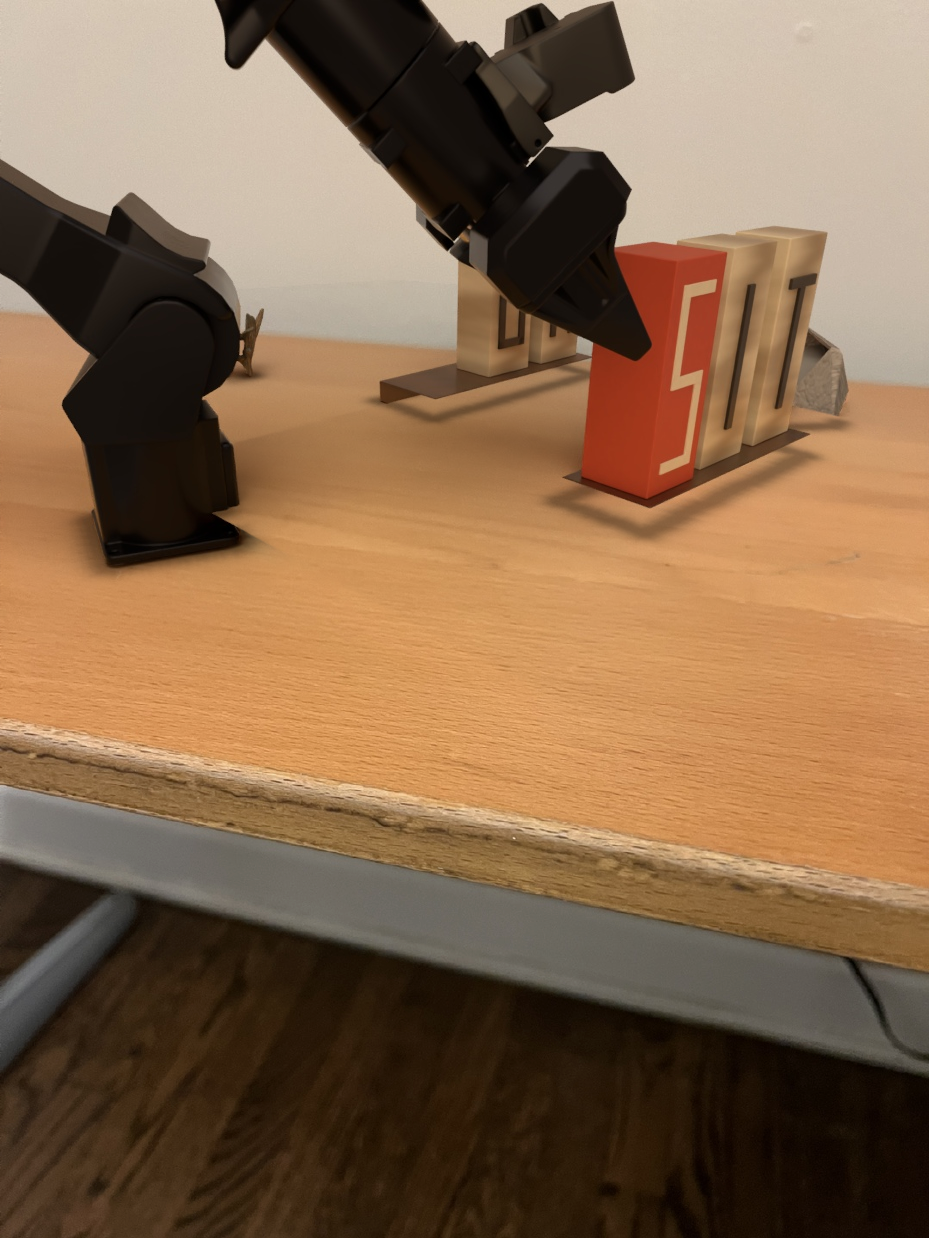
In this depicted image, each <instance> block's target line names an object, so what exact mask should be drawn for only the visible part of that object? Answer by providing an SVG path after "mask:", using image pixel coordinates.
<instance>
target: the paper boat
mask: <svg viewBox="0 0 929 1238" xmlns="http://www.w3.org/2000/svg"><path fill="white" fill-rule="evenodd" d="M848 393H849V384H848V377H847V372H846V366H845V361H844V355H843V353H842V351H841V349H840V347H838V346H837V345H835V344H834V343H833V342H831V341H829V340H828V339H826V338H825V337H823V336H822V335H821V334H819V333H818V332H816V331H815V330H814V329H812V328H811V327H810V326H809V327H808V332H807V337H806V342H805V347H804V351H803V356H802V361H801V366H800V371H799V376H798V381H797V386H796V391H795V395H794V400H793V405H792V407H798V408H801V409H805V410H809V411H814V412H817V413H822V414H826V415H830V416H834V417H839V416H840V413H841V410H842V408H843V406H844V403H845V400H846V398H847V396H848Z"/></svg>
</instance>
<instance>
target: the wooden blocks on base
mask: <svg viewBox="0 0 929 1238" xmlns="http://www.w3.org/2000/svg"><path fill="white" fill-rule="evenodd" d="M456 307H457V309H456V310H457V312H456V313H457V315H456V317H457V318H456V362H454V363H450V364H445V365H442V366H437V367H433V368H428V369H425V370H421V371H415V372H412V373H411V372H410V373H408V374H404V375H403V374H402V375H400V376H395V377H391V378H387V379H382V380H379V401H380V402H383V403H386V404H391V403H395V402H399V401H403V400H406V399H410V398H414V397H418V396H423V397H427V398H429V399H433V400H438V399H442V398H446V397H450V396H453V395H458V394H460V393H465V392H469V391H472V390H477V389H480V388H483V387H487V386H491V385H495V384H499V383H503V382H505V381H510V380H514V379H517V378H521V377H525V376H529V375H532V374H536V373H540V372H543V371H544V372H545V371H548V370H551V369H556V368H559V367H563V366H567V365H570V364H573V363H578V362H581V361H585V360H588V359H592V355H588V354H584V353H581V352H577V348H578V347H577V345H578V336H577V335H575V334H573V333H571V332H568V331H566V330H564V329H562V328H559V327H557V326H555V325H552V324H550V323H548V322H546V321H543V320H541V319H539V318H536V317H534V316H532V315H530V314H525V313H523V312H521V311H520V310H518V309H516V308H515V307H514V306H513V305H512V304H510V303H509V302H508V301H507V300H505V299H504V298H503V297H502V296H501V295H500V294H499V293H498V292H497V291H496V290H495V289H494V288H493V287H492V286H491V285H490V284H489V283H488V282H487V281H486V280H485V279H484V278H483V276H482V275H481V274H480V273H479V272H478V271H477V270H475V269H473V268H471V267H469V266H467V265H465V264H463V263H461V262H460V261H458V260H457V306H456Z"/></svg>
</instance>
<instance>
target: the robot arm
mask: <svg viewBox="0 0 929 1238" xmlns="http://www.w3.org/2000/svg"><path fill="white" fill-rule="evenodd" d="M214 4H215V6H216V8H217V10H218V14H219V16H220V19H221V22H222V23H221V24H222V28H223V37H224V53H223V54H224V55H223V57H224V61H225V64H226V65H227V66H228V67H229V69H231V70H233V71H240V70H242V69H243V68H244V67H245V65H246V64H247V63H248V61H249V60H250V59H251V58H252V57H253V55H254V54H255V53H256V52H257V51H258V49H259V48H260V47H261V46H262V44H263V43H264V42H265V41H266V42H267V43H268V44H269V45H270V46H271V47H272V48H273V50H275V52H276V53H277V54H278V55H279V57H281V58H282V59H283V60H284V62H285V63H286V64H287V65H288V66H289V67H290V68H291V69H292V70H293V72H295V74H296V75H297V76H298V77H299V78H300V79H301V80H302V81H303V82H304V83H305V84H306V85H307V87H308V88H309V89H310V90H311V91H312V92H313V93H314V94H315V96H317V98H318V99H320V101H321V102H322V103H323V104H324V105H325V106H326V107H327V109H329V111H330V112H331V113H332V114H333V115H334V116H335V117H336V119H337V120H338V121H340V123H341V124H342V125H343V126H344V127H345V128H346V129H347V130H348V131H349V133H351V135H352V136H353V137H354V138H355V139H356V140H357V142H359V143H358V145H359V147H360V148H361V149H362V150H363V151H364V152H365V153H366V154H367V155H368V156H369V158H370V159H371V160H372V161H373V162H374V163H376V164H378V165H380V166H381V167H382V168H383V170H384V171H385V172H386V173H387V174H388V175H389V176H390V177H391V178H392V180H394V182H395V183H396V184H397V185H398V186H399V187H400V188H401V189H402V190H403V191H404V193H405V194H406V195H407V196H408V197H409V198H410V200H412V201H413V202H414V203H415V221H416V222H417V223H418V225H420V226H421V227H422V229H423V230H424V231H425V232H426V233H427V234H428V235H429V236H430V237H431V239H433V241H435V243H436V244H437V245H438V246H439V247H441V248H442V249H443V250H444V251H446V252H447V253H449V254H450V256H452V257H453V258H455V259H456V260H457V262H458V261H460V262H461V263H463V264H465V265H467V266H469V267H471V268H473V269H475V270H477V271H478V272H479V273H480V274H481V275H482V276H483V278H484V279H485V280H486V281H487V282H488V283H489V284H490V285H491V286H492V287H493V288H494V289H495V290H496V291H497V292H498V293H499V294H500V295H501V296H502V297H503V298H504V299H505V300H507V301H508V302H509V303H510V304H512V305H513V306H514V307H515V308H516V309H518V310H520V311H521V312H523V313H525V314H530V315H532V316H534V317H536V318H539V319H541V320H543V321H546V322H548V323H550V324H552V325H555V326H557V327H559V328H562V329H564V330H566V331H568V332H571V333H573V334H575V335H577V337H579V338H583V339H585V340H586V341H589V342H591V343H592V344H593V343H595V344H597V345H600V346H602V347H604V348H606V349H608V350H611V351H613V352H615V353H617V354H619V355H622V356H624V357H626V358H628V359H630V360H632V361H638V360H640V359H641V358H642V357H643V356H644V355H645V354H646V353H647V352H648V351H649V350H650V349H651V347H652V342H651V340H650V337H649V335H648V333H647V330H646V328H645V326H644V323H643V321H642V319H641V316H640V314H639V312H638V309H637V307H636V305H635V302H634V300H633V298H632V296H631V293H630V291H629V289H628V286H627V284H626V282H625V279H624V277H623V274H622V272H621V269H620V267H619V264H618V261H617V259H616V256H615V247H616V241H617V237H618V231H619V226H620V224H621V223H622V222H623V221H624V219H625V218H626V215H627V211H628V199H629V198H630V195H631V193H632V191H633V189H632V188H631V186H630V185H629V183H628V182H627V180H625V178H624V177H623V176H622V174H621V173H620V172H619V170H618V168H617V167H616V166H615V165H614V164H613V162H612V161H611V159H610V158H609V157H608V156H607V154H606V153H605V152H604V151H602V150H596V149H592V148H591V149H590V148H587V147H586V148H585V147H579V146H547V145H548V144H549V142H550V141H551V140H552V139H553V138H554V137H555V136H554V133H552V131H551V130H550V128H549V127H548V126H547V124H545V123H549V122H551V121H553V120H555V119H557V118H559V117H561V116H563V115H565V114H567V113H568V112H570V111H573V110H574V109H576V108H579V107H580V106H582V105H585V104H586V103H588V102H590V101H591V100H594V99H595V98H598V97H600V96H601V95H604V94H605V93H608V94H609V95H610V94H611V95H613V94H616V93H619V91H621V90H624V89H626V88H627V87H629V86H630V85H632V84H633V83H634V82H635V80H636V76H635V72H634V69H633V66H632V62H631V57H630V55H629V54H630V53H629V51H628V48H627V47H628V46H627V43H626V40H625V37H624V33H623V29H622V26H621V22H620V19H619V15H618V12H617V8H616V5H615V2H614V0H610V1H606V2H602V3H601V2H600V3H596V4H593V5H588V6H586V7H584V8H581V9H578V10H577V11H573V12H569V13H568V14H566V15H564V17H563V18H561V19H559V18H558V17H557V16H556V15H555V14H554V13H553V12H552V11H551V9H550V8H549V7H548V6H547V5H546V4H545V3H542V2H539V3H536V4H533V5H530V6H528V7H526V8H524V9H522V10H520V11H518V12H517V13H515V14H512V15H510V16H509V17H507V18H506V19H505V24H504V40H503V41H504V43H503V48H502V49H499V50H498V51H495V52H494V54H493V55H492V56H489V55H488V53H487V52H486V51H485V50H484V48H483V47H482V46H481V44H479V43H478V42H477V41H475V40H472V41H469V42H468V40H467V39H465V40H464V39H463V40H460V41H455V39H454V38H453V37H452V35H451V34H450V33H449V32H448V31H447V29H446V28H445V26H444V25H443V24H442V23H441V22H440V21H439V19H438V18H437V17H436V16H435V14H434V13H433V12H432V11H431V9H430V8H429V7H428V5H427V4H426V3H425V1H423V0H214ZM531 158H534V159H533V160H532V161H531V162H530V160H531ZM210 249H211V240H210V239H208V238H205V237H200V236H197V235H192V234H190V233H187V232H185V231H183V230H181V229H180V228H177V227H175V226H174V225H173V224H171V222H168V221H167V220H166V219H165V218H164V217H163V216H161V214H159V212H157V211H156V210H155V209H154V208H153V207H151V206H150V205H149V204H148V203H147V202H146V201H145V200H144V199H142V198H141V197H140V196H139V195H137V194H136V193H135V192H132V191H130V192H128V193H126V195H125V196H123V197H122V198H121V199H120V200H119V201H118V202H117V203H116V204H115V205H114V206H113V207H112V209H111V212H110V215H109V214H107V213H104V212H101V211H98V210H96V209H92V208H89V207H87V206H83V205H81V204H78V203H76V202H73V201H71V200H69V199H66V198H64V197H62V196H60V195H59V194H57V193H55V192H54V191H53V190H51V189H49V188H48V187H46V186H44V185H43V184H41V183H39V182H38V181H36V180H35V179H33V178H31V177H30V176H28V175H27V174H25V173H24V172H23V171H21V170H19V169H18V168H15V167H14V166H12V165H11V164H10V163H8V162H6V161H4V160H3V159H1V158H0V275H1V276H3V277H4V278H7V279H8V280H10V281H12V282H13V283H14V284H16V285H17V286H18V287H19V288H21V289H22V290H23V291H25V292H26V294H27V295H29V296H30V297H31V298H32V300H34V301H35V303H36V304H38V305H39V307H40V308H42V310H43V311H44V312H46V314H47V315H48V316H49V317H50V318H51V319H52V320H53V321H54V322H55V323H56V324H57V325H58V326H59V327H60V328H61V329H62V330H63V331H64V332H65V333H66V334H67V335H68V337H70V339H72V341H73V342H75V344H77V345H78V346H79V347H81V348H82V349H83V350H84V351H86V352H87V353H88V356H87V357H86V359H85V361H84V362H83V364H82V366H81V368H80V369H79V371H78V372H77V375H76V376H75V378H74V379H73V382H72V383H71V385H70V387H69V388H68V390H67V392H66V393H65V396H64V397H63V399H62V401H61V408H62V410H63V412H64V413H65V416H66V417H67V419H68V421H69V422H70V423H71V425H72V427H73V429H74V430H75V432H76V433H77V435H78V437H79V438H80V443H81V447H82V448H81V449H82V453H83V458H84V463H85V468H86V473H87V479H88V483H89V488H90V489H89V490H90V494H91V499H92V505H93V509H91V511H90V512H91V519H92V521H93V525H94V529H95V532H96V535H97V539H98V542H99V546H100V549H101V553H102V556H103V560H104V562H105V563H106V564H107V565H113V566H114V565H121V564H129V563H134V562H138V561H139V562H140V561H145V560H153V559H157V558H164V557H170V556H175V555H183V554H188V553H193V552H199V551H200V552H201V551H205V550H212V549H217V548H218V549H219V548H223V547H229V546H235V545H238V544H240V542H241V536H240V531H239V530H238V527H237V526H236V525H235V524H233V523H232V522H229V521H227V520H226V519H224V518H222V517H220V516H218V515H217V514H214V513H217V512H223V511H228V510H229V509H230V508H234V507H238V506H239V505H241V503H240V494H239V486H238V485H239V484H238V477H237V468H236V457H235V449H234V445H233V443H232V442H231V440H230V439H229V438H228V436H227V435H226V433H225V432H224V430H222V429H221V428H220V419H219V415H218V414H217V413H216V411H215V409H213V407H212V406H211V404H210V403H209V402H208V401H207V399H203V398H204V397H206V396H208V395H209V394H211V393H213V392H214V391H217V390H218V389H219V388H221V386H223V384H224V383H225V382H226V381H227V380H228V378H230V376H231V375H232V374H233V373H234V371H235V367H236V365H237V363H238V361H237V360H238V357H239V355H240V354H241V353H240V352H241V341H240V333H241V319H242V318H241V317H242V315H241V311H242V310H241V309H242V308H241V307H242V306H241V302H240V298H239V296H238V292H237V289H236V287H235V284H234V282H233V280H232V278H231V277H230V275H229V274H228V273H227V271H226V270H225V269H224V268H223V267H222V266H221V265H220V264H218V262H217V261H216V260H214V259H213V258H212V257H210V256H209V254H210Z"/></svg>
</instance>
